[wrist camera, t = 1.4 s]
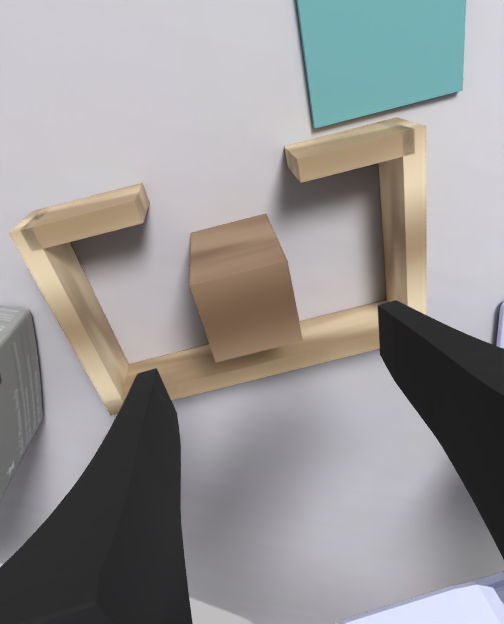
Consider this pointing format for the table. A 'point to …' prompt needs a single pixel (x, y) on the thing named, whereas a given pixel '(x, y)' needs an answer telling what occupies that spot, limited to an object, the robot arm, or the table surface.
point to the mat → (379, 54)
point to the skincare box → (17, 389)
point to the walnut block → (243, 288)
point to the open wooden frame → (200, 361)
